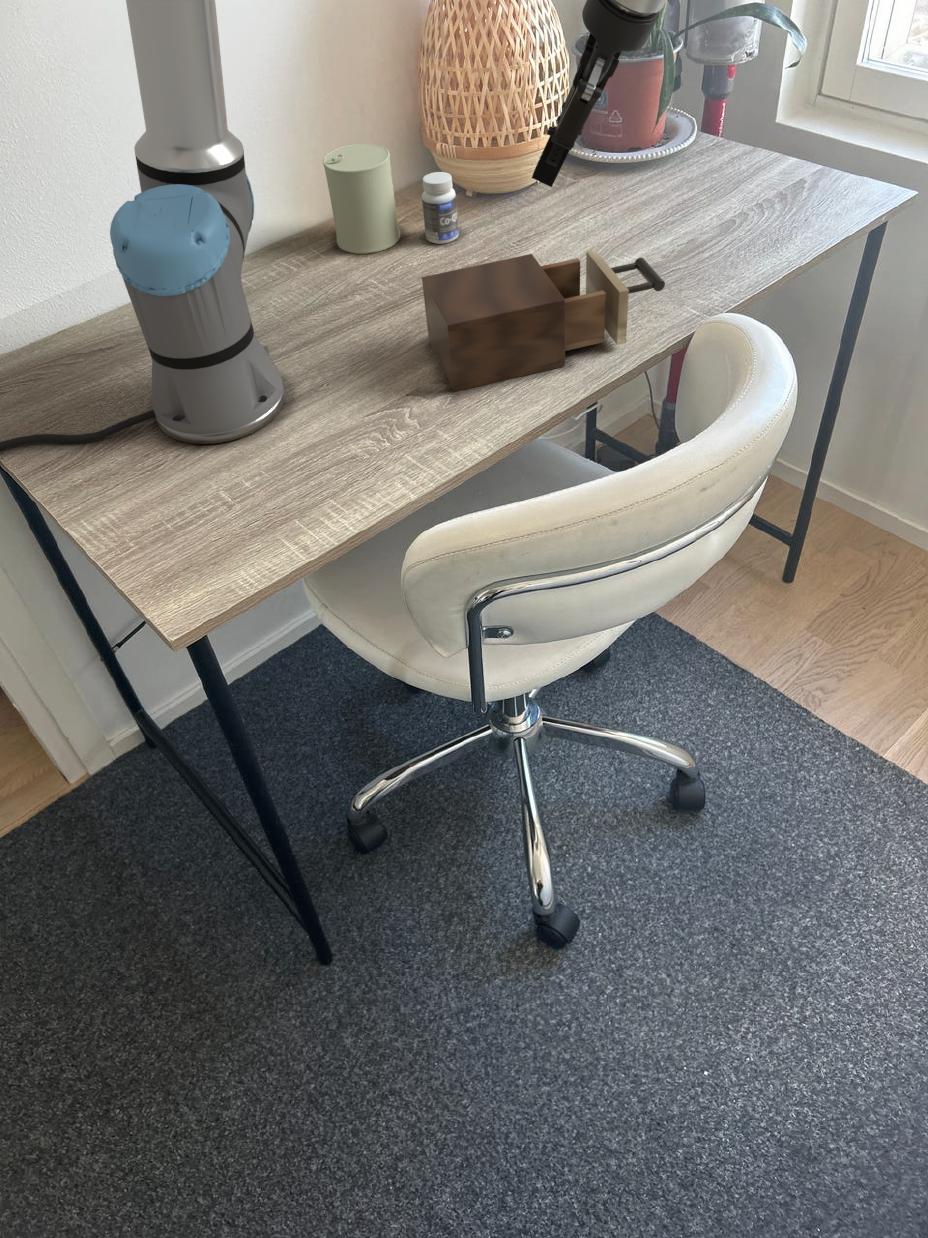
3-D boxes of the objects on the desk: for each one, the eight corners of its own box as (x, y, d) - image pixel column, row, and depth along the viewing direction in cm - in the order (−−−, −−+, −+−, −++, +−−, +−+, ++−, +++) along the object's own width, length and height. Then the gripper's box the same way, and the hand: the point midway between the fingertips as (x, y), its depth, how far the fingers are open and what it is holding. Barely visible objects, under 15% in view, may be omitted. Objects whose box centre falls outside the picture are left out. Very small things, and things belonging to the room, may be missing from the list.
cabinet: (533, 318, 123) (531, 253, 116) (565, 366, 115) (565, 299, 109) (429, 341, 121) (421, 276, 115) (454, 392, 113) (447, 325, 107)
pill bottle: (445, 247, 137) (439, 187, 131) (419, 239, 139) (412, 180, 133) (465, 233, 140) (461, 173, 134) (439, 226, 142) (434, 167, 136)
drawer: (635, 292, 123) (638, 240, 118) (669, 332, 116) (674, 279, 111) (499, 322, 121) (496, 270, 116) (525, 365, 114) (524, 312, 109)
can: (330, 231, 143) (315, 147, 134) (391, 218, 145) (380, 134, 136) (344, 259, 137) (329, 172, 128) (407, 245, 138) (396, 158, 130)
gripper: (652, 44, 98) (560, 224, 118) (670, -22, 104) (579, 160, 125) (585, 10, 97) (503, 198, 117) (607, -55, 103) (526, 134, 123)
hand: (542, 178), depth 121 cm, fingers closed
